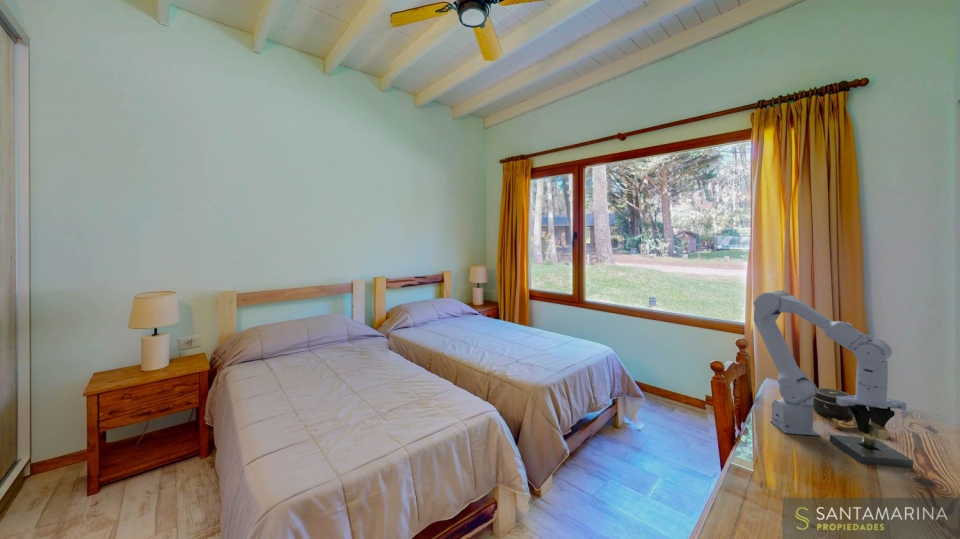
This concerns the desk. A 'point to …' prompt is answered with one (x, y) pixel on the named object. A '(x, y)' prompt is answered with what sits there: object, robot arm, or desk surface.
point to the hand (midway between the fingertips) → (869, 432)
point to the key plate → (871, 452)
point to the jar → (831, 404)
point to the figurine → (844, 424)
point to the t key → (873, 433)
